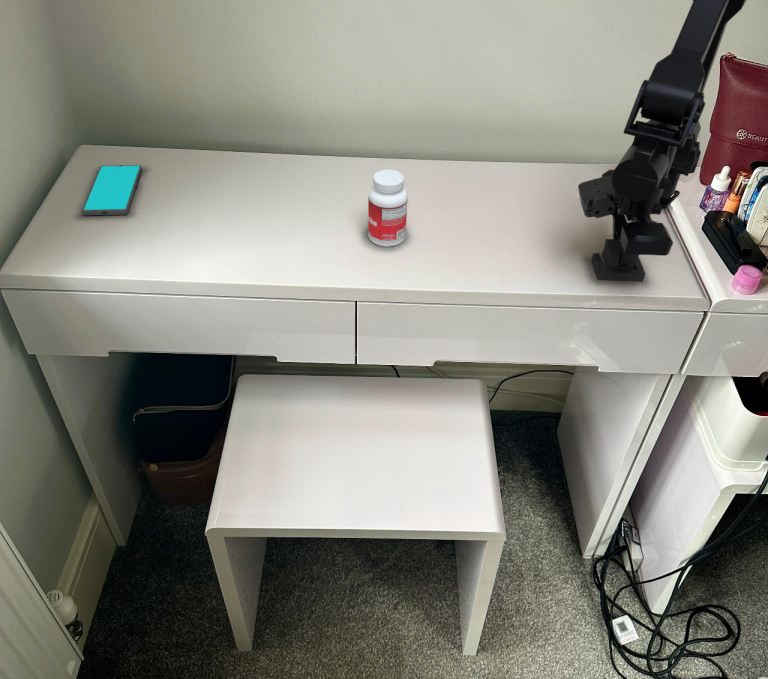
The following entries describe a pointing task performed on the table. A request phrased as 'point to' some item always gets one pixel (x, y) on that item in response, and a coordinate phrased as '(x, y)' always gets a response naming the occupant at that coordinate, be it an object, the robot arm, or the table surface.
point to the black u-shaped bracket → (617, 271)
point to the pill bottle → (387, 208)
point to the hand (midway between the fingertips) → (619, 257)
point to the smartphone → (112, 190)
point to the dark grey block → (614, 255)
